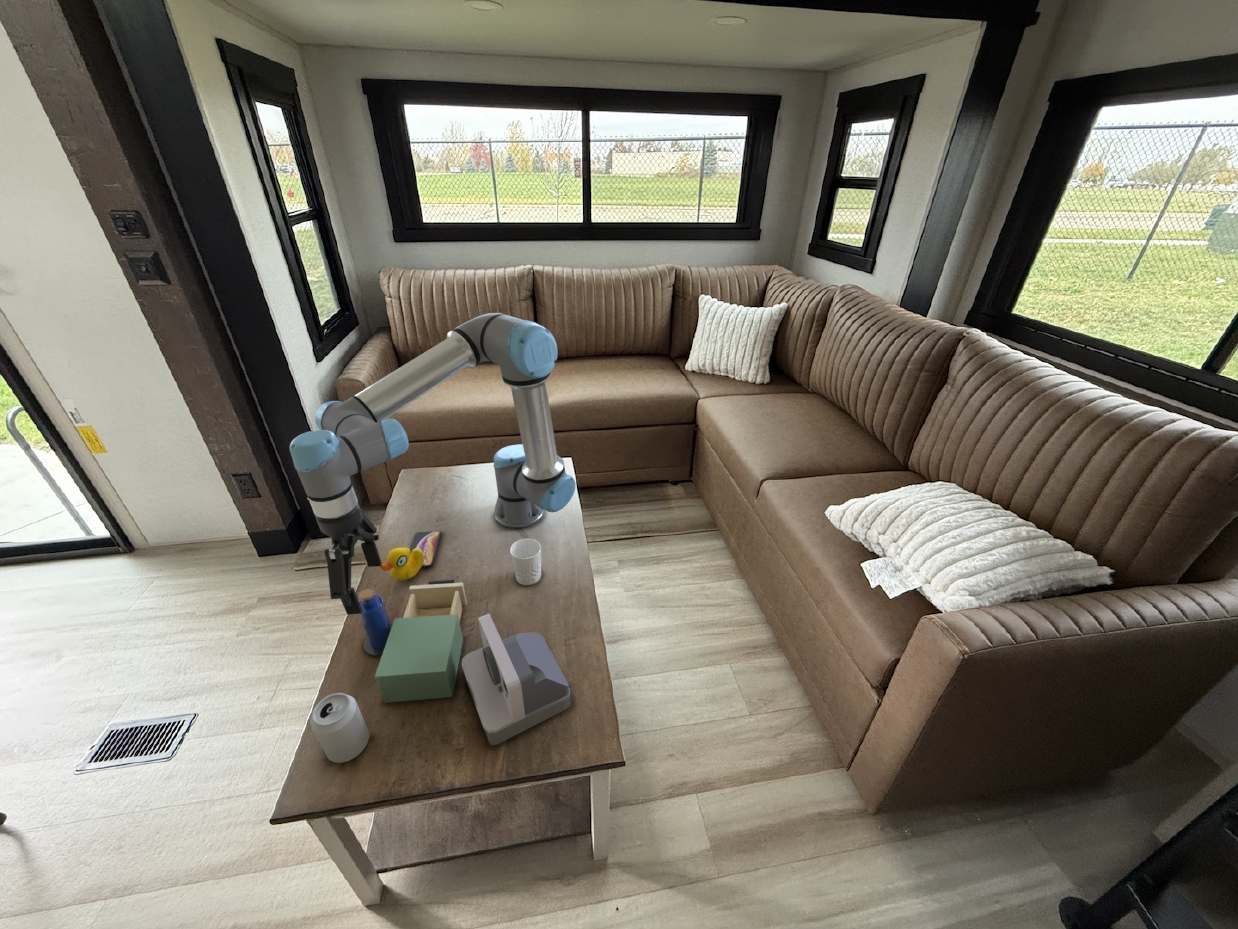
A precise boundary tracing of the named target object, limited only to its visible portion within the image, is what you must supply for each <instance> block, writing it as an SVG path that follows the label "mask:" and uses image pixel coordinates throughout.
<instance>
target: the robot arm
mask: <svg viewBox="0 0 1238 929" xmlns="http://www.w3.org/2000/svg"><path fill="white" fill-rule="evenodd" d="M557 359H558V344H557V341H556V339H555V337H554V335H553V334H552V333H551V331H549V329H548V328H546V327H544V326H543V325H540V324H539V323H537V322H535V321H531V320H526V319H525V320H524V319H521V318H518V317H514V316H512V315H508V314H505V313H502V312H489V313H485V314H482V315H478V316H477V317H474V318H472V319H470V320H467V321H465V322H464V323H461V324H459V325H457V327H455V328H453V329H451V330H449V331H448V332H447V334H446V339H444V340H441V342H439V343H437V344H436V345H433V347H431V348H428V349H427V350H426V351H424V352H423V353H421V354H420V355H418V356H416V357H414V358H413V359H411V360H409V361H408V362H406V363H405V364H403V365H401V366H400V367H398V368H397V369H395V370H393V371H392V372H390V373H388V374H387V375H386V376H383V377H382V378H379V379H378V380H377V381H375V382H374V383H372V384H370V385H369V386H367V387H366V388H364V389H362V390H361V391H359V392H357V393H356V394H354V395H353V396H351V397H349V398H348V399H346V400H344V401H339V400H331V401H326V402H324V403H322V404H321V405H320V406H319V407H318V408H317V410H316V412H315V415H314V421H315V422H314V423H315V425H316V427H317V429H316V430H314V431H311V430H310V431H305V432H304V433H301V434H299V435H297V436H296V437H294V438H293V439H292V441H291V442H290V443H289V452H290V457H291V458H292V462H293V467H294V469H295V470H296V472H297V475H298V478H299V479H300V482H301V484H302V487H303V489H304V491H305V494H306V497H307V500H308V501H309V503H310V506H311V509H312V511H313V514H314V516H315V520H316V522H317V525H318V528H319V530H320V532H321V533H322V534H324V535H326V536H328V537H329V538H330V540H331V548H326V549H325V550H324V556H325V558H326V559H325V560H326V565H327V574H328V584H329V585H328V586H329V593H330V600H340V601H341V604H342V606H343V608H344V610H345V613H346V615H359V614H361V613H362V608H361V606H360V603H359V602H360V601H359V597H358V596H357V593H356V589H355V588H354V587H352V559H353V558H354V556H355V546H356V544H357V543H358V541H361V544H360V547H361V550H362V553H363V555H364V559H365V561H366V564H367V567H368V568H373V567H375V568H376V567H380V566H381V565H382V564H383V563H382V560H381V557H380V553H379V550H378V547H377V544H376V541H379V538H380V537H379V535H378V534H377V532H378V529H377V526H375V525H374V523H373V522H372V521H371V520H370V519H369V518H368V517H367V516H366V514H365V511H364V510H363V508H362V507H360V504H359V502H358V497H357V495H356V492H355V489H354V487H353V482H352V480H351V476H353V475H356V474H358V473H360V472H363V471H366V470H368V469H370V468H373V467H375V466H378V465H380V464H383V463H386V462H388V461H391V460H394V458H396V457H399V456H400V455H402V454H404V453H406V452H407V451H408V449H409V445H410V444H409V438H408V434H407V432H406V430H405V429H404V427H403V425H402V424H401V423H400V422H399V420H397V419H395V418H391V417H392V416H393V415H395V414H396V413H398V412H399V411H401V410H402V409H404V408H405V407H407V406H408V405H410V404H411V403H413V402H414V401H416V400H417V399H419V398H421V397H422V396H423V395H425V394H427V393H428V392H430V391H432V390H433V389H435V387H438V386H439V385H440V384H442V383H443V382H445V381H446V380H448V379H450V378H451V377H452V376H454V375H456V374H457V373H459V372H460V371H463V370H464V369H465V368H466V367H467V368H471V369H472V368H475V367H476V366H477V365H479V364H481V363H484V362H492V363H494V364H497V365H498V366H499V369H500V370H499V371H500V374H501V378H502V379H501V380H502V381H503V383H504V385H506V386H509V387H510V390H511V395H512V400H513V405H514V410H515V416H516V419H517V420H516V421H517V425H518V429H519V434H520V440H521V443H520V444H511V445H507V446H505V447H502V448H500V449H499V450H497V451H496V452H495V453H494V456H493V468H494V474H495V475H494V476H495V483H496V490H497V499H496V502H495V506H494V519H495V521H496V522H497V523H498V524H499V525H500V526H502V527H504V528H508V529H514V530H515V529H516V530H517V529H525V528H528V527H531V526H534V525H535V524H537V523H538V522H540V521H541V520H542V519H543V517H544V514H545V511H546V512H549V513H556V512H559V511H561V510H562V509H564V508H566V506H567V505H568V504H569V502H570V501H571V499H572V498H573V496H574V494H575V491H576V486H577V485H576V480H575V479H574V477H573V476H572V475H570V474H568V473H567V472H566V466H565V462H564V459H563V458H562V457H561V456H559V455H558V452H557V445H556V438H555V432H554V426H553V421H552V420H553V419H552V413H551V406H550V400H549V395H548V388H547V381H548V380H549V378H550V377H551V374H552V373H551V372H552V371H553V370H554V368H555V366H556V363H555V362H556V361H557ZM344 552H348V553H344Z"/></svg>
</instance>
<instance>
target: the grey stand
mask: <svg viewBox="0 0 1238 929" xmlns="http://www.w3.org/2000/svg"><path fill="white" fill-rule="evenodd" d="M477 620H478V625H479V632H480V637H481V642H482V647H481V648H478V649H475V650H474V651H470V652H469V653H467V654H465V656H463V657H462V658H461V669H462V672H463V674H464V677H465V680H466V682H467V686H468V688H469V691H470V694H471V697H472V699H473V702H474V705H475V708H476V711H477V713H478V717H479V719H480V722H481V726H482V728H483V730H484V732H485V736H486V738H487V741H488V743H489V744H490V746H497V745H500V744H501V743H503V742H505V741H507V740H508V739H511V738H513V737H515V736H517V735H519V734H521V733H523V732H524V731H526V730H529V729H531V728H533V727H534V726H536V725H538V724H541V723H543V722H544V721H546V720H549V719H550V718H552V717H555V716H557V715H559V714H560V713H562V712H565V711H566V710H567V709H568V708H570V707H571V706H572V705H571V704H572V703H571V693H572V687H571V685H570V682H569V681H568V680H567V678H566V676H565V675H564V673H563V670H562V669H561V667H560V665H559V664H558V662H557V660H556V658H555V656H554V654H553V653H552V650H551V648H550V647H549V644H548V642H547V640H545V638H544V636H543V635H542V634H541V633H540V632H537V631H529V632H521V633H516V634H514V635H512V636H510V637H507V638H505V639H502V638H501V636H500V633H499V632H498V629H497V626H496V624H495V623H494V620H493V618H492V616H491V614H490V613H487V614H484V615H481V616H479V617H478V618H477Z"/></svg>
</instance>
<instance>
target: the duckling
mask: <svg viewBox="0 0 1238 929" xmlns="http://www.w3.org/2000/svg"><path fill="white" fill-rule="evenodd" d="M423 563H424V554H423V552H422V551H421V550H420V549H417V548H415V549H413V550H412V553H411V554H410V548H408V547H396V548H393V549H391V550H390V551H389V553H388V554H387V556H386V562H384V563H382V565H381V566H379V569H380V570H382V571H383V572H384V571H385V572H387V571H389V574H390V576H391V577H392V578H393V579H394V580H396V581H407V580H409V579H411V578H413V577H415V576H416V575H417V573H418V572H419V571H420V569H422V568H421V567H422V565H423Z"/></svg>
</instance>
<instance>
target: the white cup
mask: <svg viewBox="0 0 1238 929" xmlns="http://www.w3.org/2000/svg"><path fill="white" fill-rule="evenodd" d="M509 552H510V557H511V563H512V567H513V571H514V575H515V580H516V582H517V583H518V584H520V585H522V586H531V585H534V584H536V583H538V582H539V581H540V580H541V577H542V545H541V543H540V541H538V540H536V539H534V538H530V537H529V538H521V539H518V540H516V541H515V542H513V543H512V544H511V546H510V550H509Z"/></svg>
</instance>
